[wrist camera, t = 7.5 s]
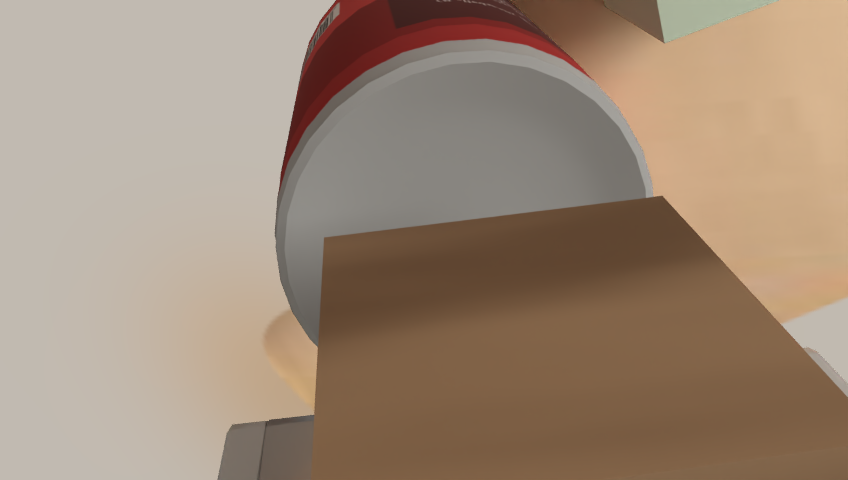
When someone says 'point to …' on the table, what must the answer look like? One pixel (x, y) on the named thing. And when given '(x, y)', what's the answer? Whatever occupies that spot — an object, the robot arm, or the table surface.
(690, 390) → the walnut cube
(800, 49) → the table surface
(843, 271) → the table surface
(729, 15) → the sage block
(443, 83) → the canned food
